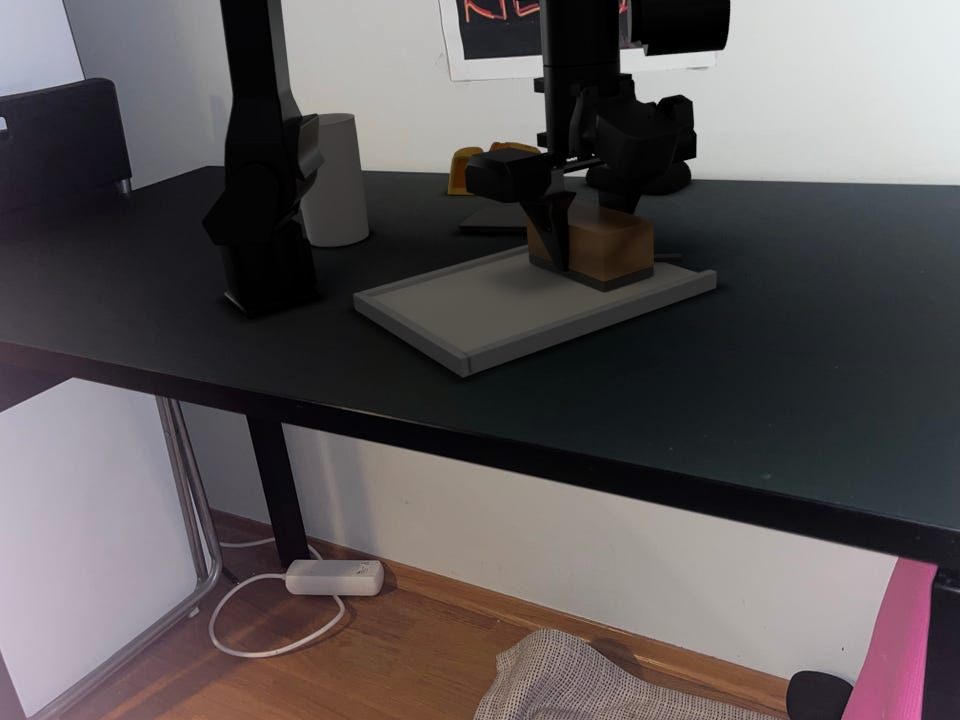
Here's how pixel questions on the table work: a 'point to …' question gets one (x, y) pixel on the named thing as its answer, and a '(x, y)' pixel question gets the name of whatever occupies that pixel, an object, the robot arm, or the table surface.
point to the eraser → (601, 246)
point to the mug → (336, 187)
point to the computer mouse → (658, 179)
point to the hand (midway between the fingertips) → (588, 263)
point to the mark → (668, 257)
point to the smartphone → (496, 221)
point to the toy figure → (462, 159)
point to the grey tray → (512, 307)
